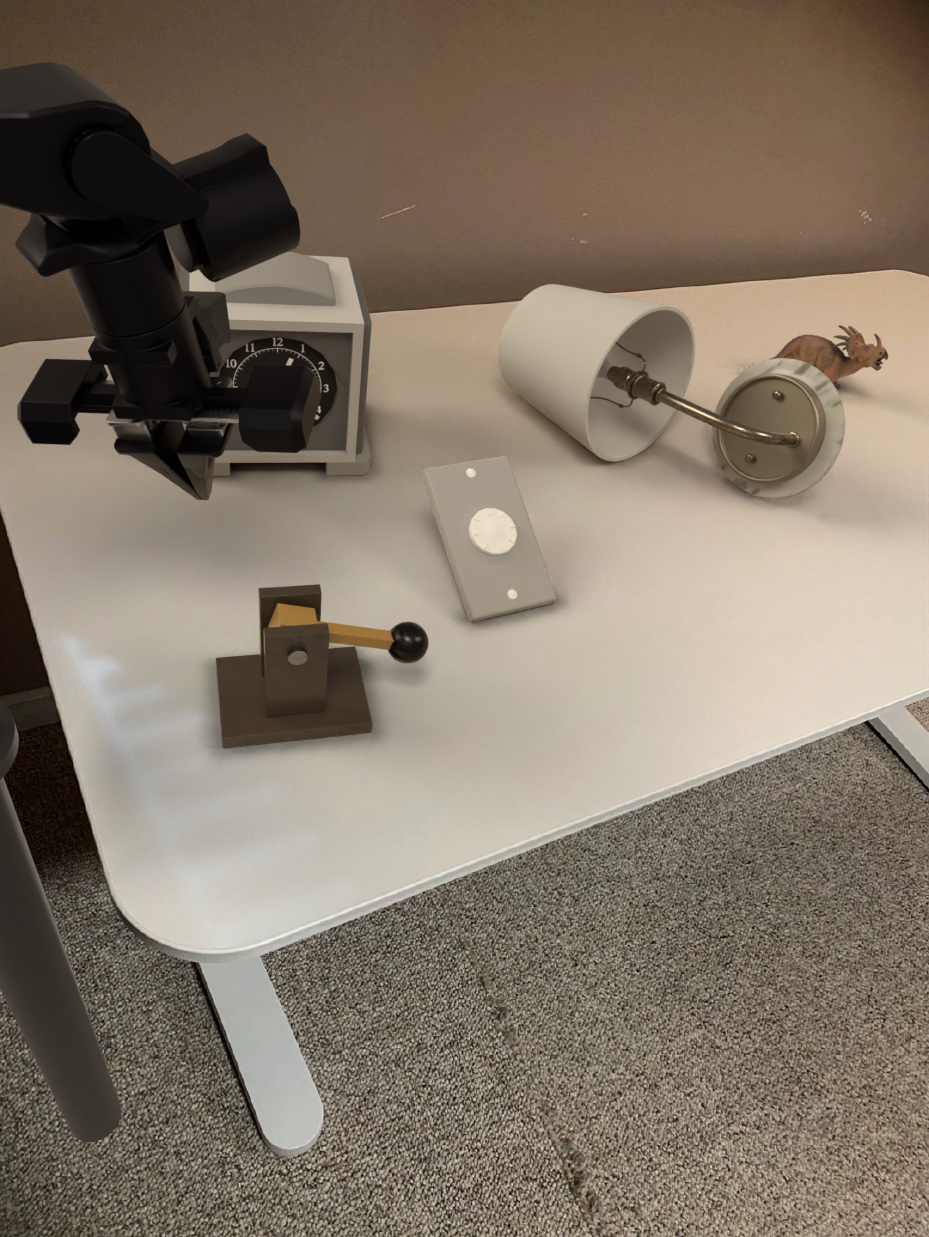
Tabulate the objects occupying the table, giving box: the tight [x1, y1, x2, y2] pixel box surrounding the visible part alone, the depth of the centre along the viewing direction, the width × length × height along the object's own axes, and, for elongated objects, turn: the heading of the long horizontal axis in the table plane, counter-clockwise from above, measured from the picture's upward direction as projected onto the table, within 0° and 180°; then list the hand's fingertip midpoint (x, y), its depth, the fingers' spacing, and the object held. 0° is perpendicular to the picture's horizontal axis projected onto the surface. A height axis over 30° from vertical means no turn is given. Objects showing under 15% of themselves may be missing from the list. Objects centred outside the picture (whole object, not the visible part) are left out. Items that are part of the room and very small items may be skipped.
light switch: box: [420, 455, 558, 623], centre depth 85 cm, size 8×6×14 cm
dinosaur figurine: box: [768, 324, 889, 389], centre depth 117 cm, size 14×6×9 cm, turn 75°
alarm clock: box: [178, 251, 373, 477], centre depth 90 cm, size 18×13×18 cm
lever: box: [268, 603, 430, 665], centre depth 69 cm, size 12×3×3 cm, turn 104°
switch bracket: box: [215, 583, 373, 749], centre depth 69 cm, size 11×8×10 cm
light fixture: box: [497, 283, 846, 500], centre depth 97 cm, size 17×19×34 cm
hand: (204, 495), depth 67 cm, fingers closed
